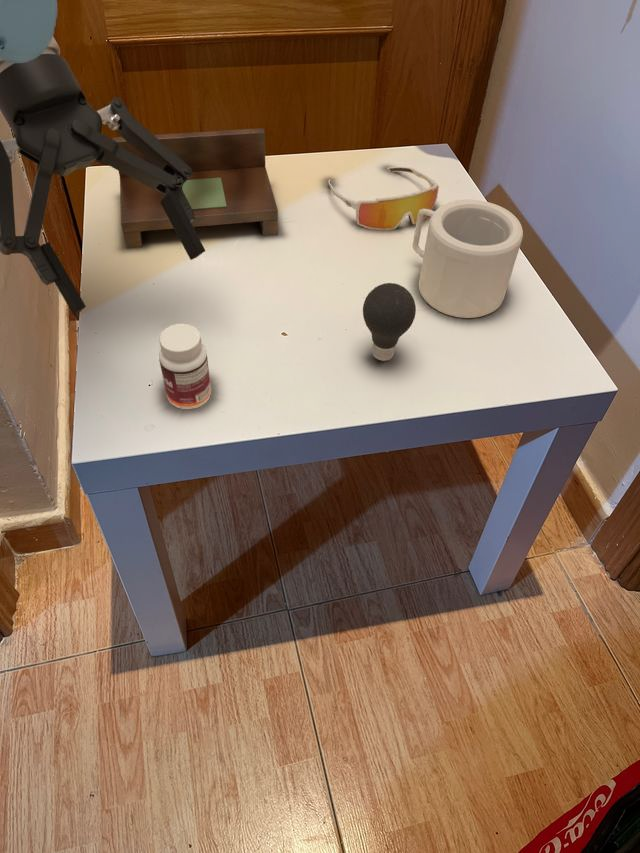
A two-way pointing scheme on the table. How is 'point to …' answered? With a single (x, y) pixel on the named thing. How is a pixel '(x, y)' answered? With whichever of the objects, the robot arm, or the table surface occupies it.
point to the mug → (467, 256)
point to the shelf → (205, 184)
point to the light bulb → (388, 317)
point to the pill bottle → (184, 366)
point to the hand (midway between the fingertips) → (141, 282)
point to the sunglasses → (393, 205)
